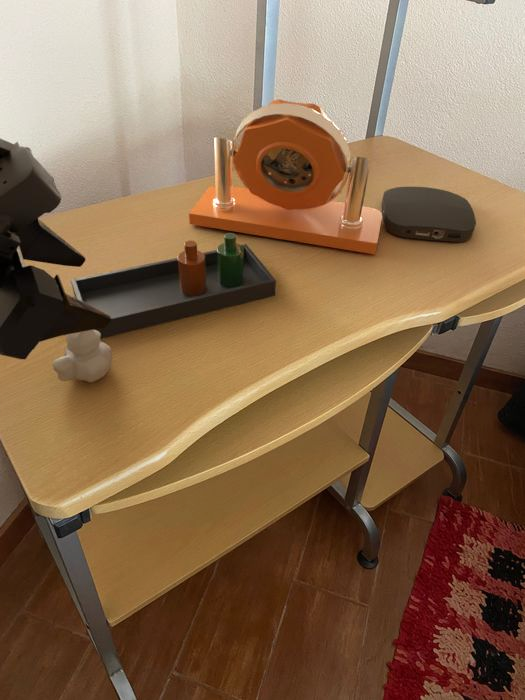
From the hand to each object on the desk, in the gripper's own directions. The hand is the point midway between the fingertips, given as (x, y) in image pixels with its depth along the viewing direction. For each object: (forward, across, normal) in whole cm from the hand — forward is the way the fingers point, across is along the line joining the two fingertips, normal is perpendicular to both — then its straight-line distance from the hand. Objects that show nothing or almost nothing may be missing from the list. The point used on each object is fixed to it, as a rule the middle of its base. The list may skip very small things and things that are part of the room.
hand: (95, 290), depth 50 cm
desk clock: (+37, +23, -12) cm, 45 cm away
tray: (+18, +12, +3) cm, 22 cm away
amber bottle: (+20, +12, +1) cm, 23 cm away
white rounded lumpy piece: (+7, +2, +12) cm, 14 cm away
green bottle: (+24, +12, -3) cm, 27 cm away
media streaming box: (+54, +16, -27) cm, 62 cm away
